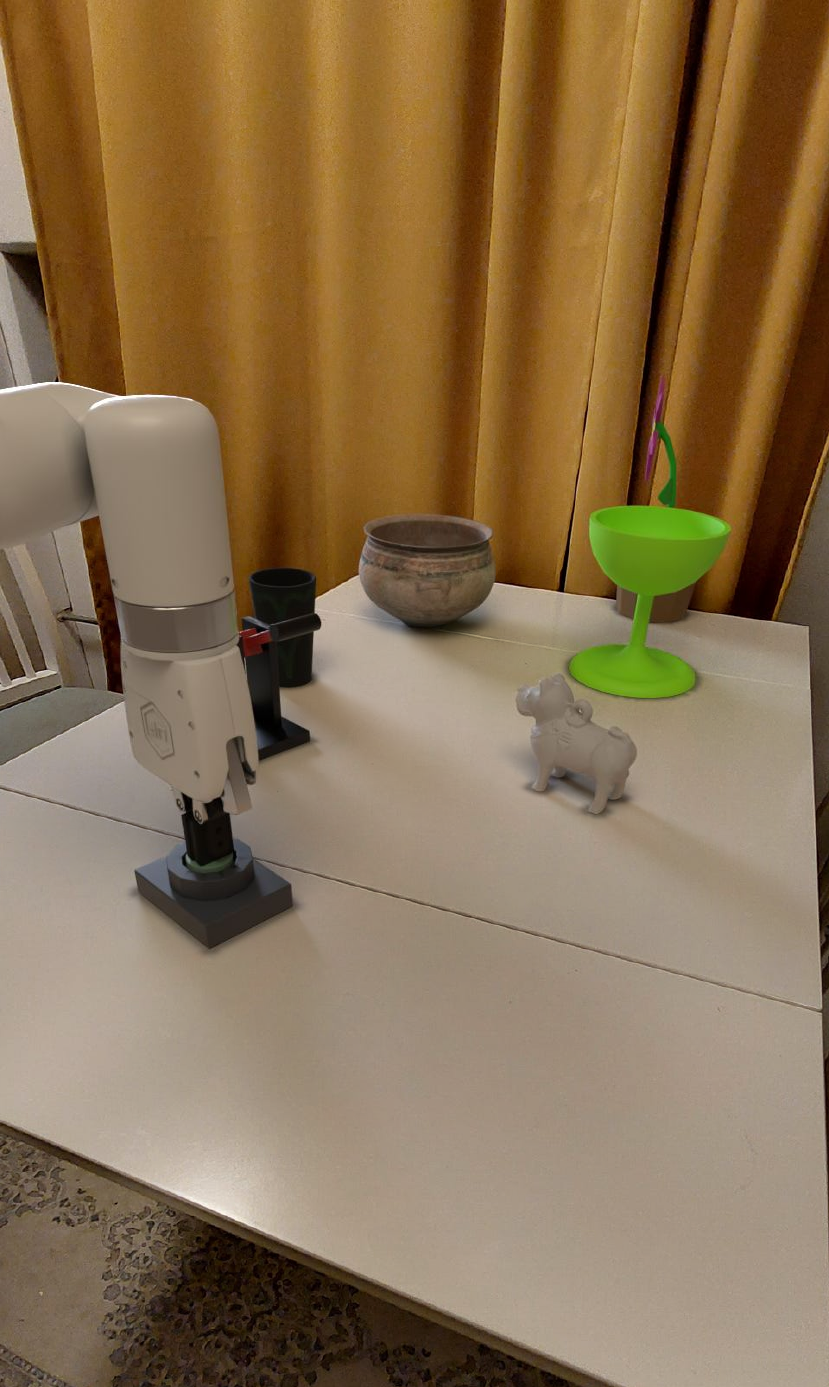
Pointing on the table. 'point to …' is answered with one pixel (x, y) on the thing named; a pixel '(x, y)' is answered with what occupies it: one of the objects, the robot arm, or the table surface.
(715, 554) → the wineglass
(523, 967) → the table surface
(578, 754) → the dog figurine
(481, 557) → the cooking pot
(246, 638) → the lever handle
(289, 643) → the cup
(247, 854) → the base
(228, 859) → the power button
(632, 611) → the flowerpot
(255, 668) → the black lever stand
